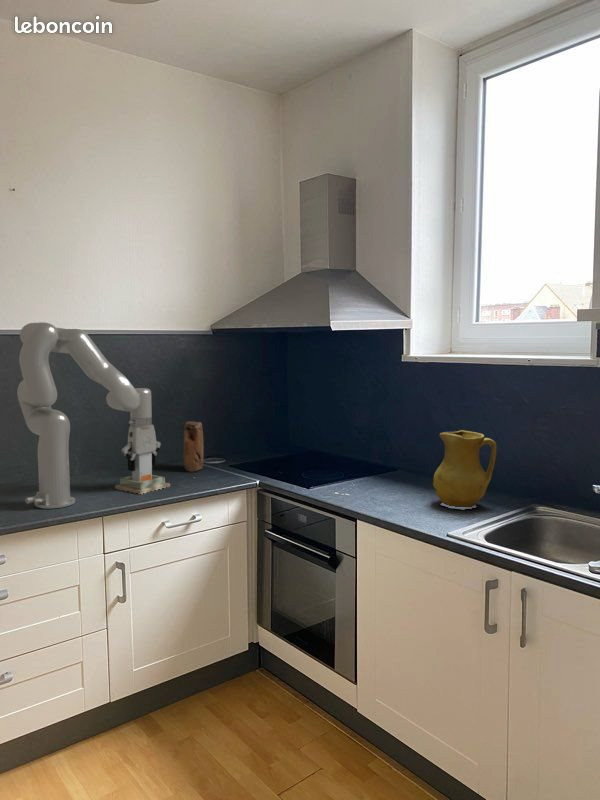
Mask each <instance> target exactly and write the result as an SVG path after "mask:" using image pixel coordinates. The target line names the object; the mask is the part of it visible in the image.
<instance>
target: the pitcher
mask: <svg viewBox="0 0 600 800" xmlns="http://www.w3.org/2000/svg"><path fill="white" fill-rule="evenodd" d="M439 437H440V438H441V440H442V441H443V444H444V457H443V459H442V462H441V463H440V465H439V466H438V467H437V469H436V471H435V472H434V474H433V482H432V486H433V487H434V489H435V493H434V494H435V495H437V497H438V498H439V500H440V502H442V503H444V504H446V505H449V506H455V507H472V506H474V505H475V504H477V503H478V502H480V500H481V499H482V498H483V497H484V496H486V495H485V494H486V491H487V488H488V486H489V483H490V482H491V481H492V476H493V470H494V469H495V463H496V457H497V443H496V441H494V440H493V439H491V438H488V437H485V435H484V434H483V433H479V432H475V431H469V430H463V429H462V430H461V429H459V430H458V431H444V432H440V433H439ZM485 445H488V446H489V447H490V449H491V453H490V458H489V463H488V466H487V470H486V471H485V470H484V468H483V466H482V464H481V461H480V449H481V448H482V447H484V446H485Z"/></svg>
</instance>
